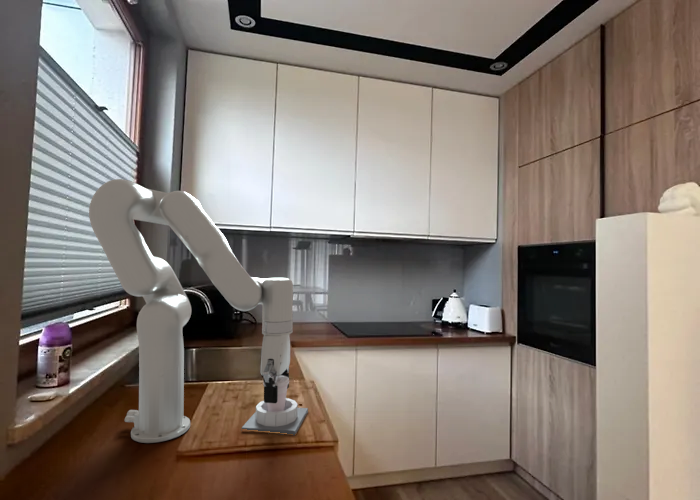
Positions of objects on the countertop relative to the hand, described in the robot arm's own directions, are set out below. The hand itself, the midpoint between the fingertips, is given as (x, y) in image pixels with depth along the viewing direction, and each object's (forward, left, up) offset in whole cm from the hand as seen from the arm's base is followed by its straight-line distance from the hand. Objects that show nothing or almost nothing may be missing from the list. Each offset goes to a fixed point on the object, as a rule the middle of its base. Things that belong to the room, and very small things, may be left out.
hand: (277, 395), depth 96 cm
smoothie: (0, 0, -6) cm, 6 cm away
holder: (0, 0, -7) cm, 7 cm away
